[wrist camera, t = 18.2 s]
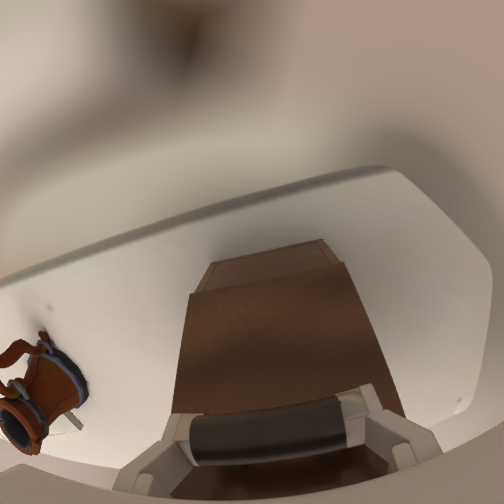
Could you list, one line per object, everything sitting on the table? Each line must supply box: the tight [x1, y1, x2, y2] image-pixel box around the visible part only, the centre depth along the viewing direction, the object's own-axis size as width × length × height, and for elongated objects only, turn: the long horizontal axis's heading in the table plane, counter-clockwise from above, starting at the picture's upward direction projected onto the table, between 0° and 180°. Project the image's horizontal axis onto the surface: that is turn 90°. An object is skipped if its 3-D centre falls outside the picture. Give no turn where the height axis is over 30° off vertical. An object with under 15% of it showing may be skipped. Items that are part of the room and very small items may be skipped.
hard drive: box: [49, 411, 83, 435], centre depth 39 cm, size 2×8×12 cm
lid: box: [170, 262, 406, 501], centre depth 14 cm, size 15×12×5 cm
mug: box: [0, 331, 88, 456], centre depth 29 cm, size 18×12×15 cm, turn 179°
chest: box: [194, 239, 340, 293], centre depth 28 cm, size 15×12×8 cm
